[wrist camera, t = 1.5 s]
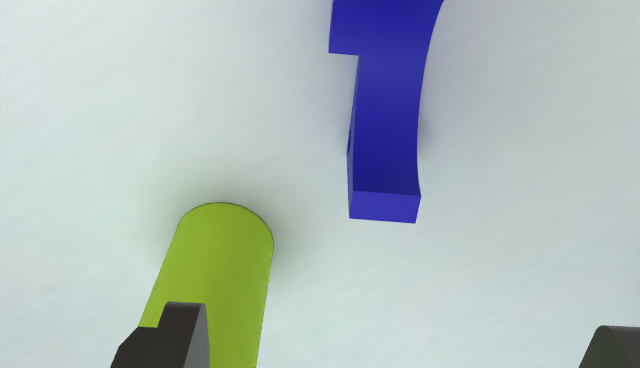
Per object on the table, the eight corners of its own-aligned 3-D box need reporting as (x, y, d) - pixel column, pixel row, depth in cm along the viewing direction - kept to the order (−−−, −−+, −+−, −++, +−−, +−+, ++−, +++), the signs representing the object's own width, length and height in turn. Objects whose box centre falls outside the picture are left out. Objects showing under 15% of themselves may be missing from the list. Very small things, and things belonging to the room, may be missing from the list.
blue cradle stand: (341, -97, 23) (343, -76, 18) (446, -87, 23) (477, -63, 18) (318, 150, 30) (315, 215, 25) (401, 157, 30) (415, 223, 25)
